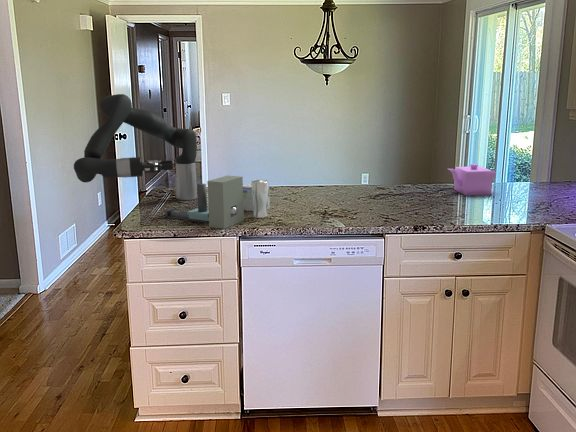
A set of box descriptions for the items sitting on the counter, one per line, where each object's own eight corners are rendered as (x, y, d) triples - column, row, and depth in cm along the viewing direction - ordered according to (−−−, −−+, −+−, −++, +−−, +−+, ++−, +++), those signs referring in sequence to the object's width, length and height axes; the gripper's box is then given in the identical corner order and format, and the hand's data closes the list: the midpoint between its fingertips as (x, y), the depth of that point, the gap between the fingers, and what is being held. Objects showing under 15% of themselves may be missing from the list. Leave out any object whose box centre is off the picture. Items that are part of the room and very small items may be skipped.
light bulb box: (270, 208, 245) (269, 184, 243) (264, 212, 239) (264, 187, 237) (247, 207, 249) (247, 183, 246) (241, 210, 243) (241, 186, 240)
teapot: (440, 189, 283) (441, 162, 280) (487, 188, 285) (489, 161, 282) (451, 196, 269) (452, 167, 265) (501, 194, 271) (503, 166, 267)
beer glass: (251, 214, 235) (250, 179, 231) (268, 214, 235) (267, 179, 232) (252, 218, 228) (251, 182, 225) (269, 218, 229) (268, 182, 225)
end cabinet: (208, 226, 217) (206, 180, 212) (228, 218, 229) (226, 175, 224) (224, 228, 213) (222, 182, 209) (243, 220, 225) (242, 176, 221)
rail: (165, 217, 232) (164, 210, 231) (173, 214, 236) (172, 207, 235) (214, 223, 220) (214, 216, 220) (222, 221, 225) (221, 213, 224)
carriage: (187, 218, 225) (186, 184, 222) (198, 215, 231) (196, 181, 228) (210, 221, 220) (208, 187, 217) (220, 217, 226) (218, 184, 223)
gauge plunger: (212, 214, 221) (211, 204, 220) (217, 212, 224) (217, 202, 223) (232, 217, 216) (232, 207, 215) (238, 215, 220) (238, 205, 219)
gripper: (127, 160, 207) (172, 158, 210) (129, 155, 221) (171, 152, 224) (129, 180, 209) (173, 177, 212) (131, 173, 223) (172, 171, 226)
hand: (172, 164), depth 218 cm, fingers open, 8 cm apart
